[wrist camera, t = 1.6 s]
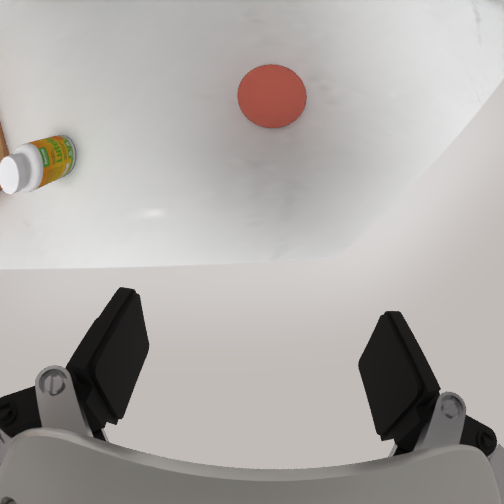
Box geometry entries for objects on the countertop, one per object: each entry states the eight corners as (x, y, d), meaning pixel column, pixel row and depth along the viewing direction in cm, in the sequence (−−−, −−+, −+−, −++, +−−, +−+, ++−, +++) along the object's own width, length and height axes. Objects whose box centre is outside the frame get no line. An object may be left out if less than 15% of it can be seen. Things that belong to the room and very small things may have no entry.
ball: (242, 68, 22) (238, 55, 17) (303, 75, 22) (315, 64, 17) (237, 124, 25) (231, 125, 20) (297, 130, 25) (308, 133, 20)
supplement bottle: (83, 155, 26) (29, 175, 18) (62, 184, 28) (12, 211, 19) (61, 126, 24) (6, 138, 16) (42, 156, 26) (-10, 176, 17)
